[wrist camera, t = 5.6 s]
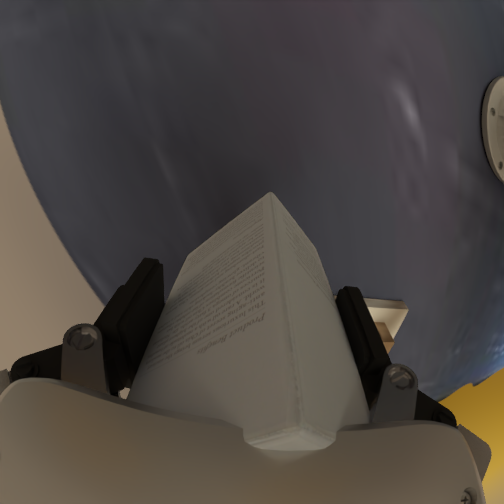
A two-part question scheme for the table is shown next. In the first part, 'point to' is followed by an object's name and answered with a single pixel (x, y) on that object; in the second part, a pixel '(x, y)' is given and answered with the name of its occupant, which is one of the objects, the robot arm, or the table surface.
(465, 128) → the table surface
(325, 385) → the skincare box
